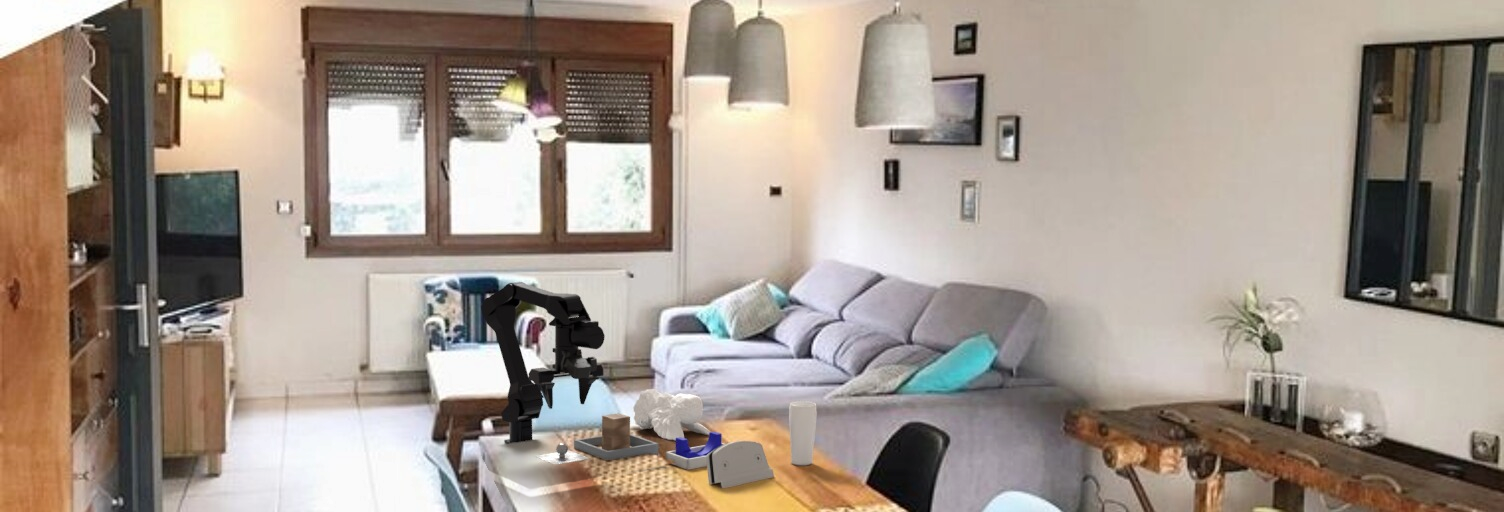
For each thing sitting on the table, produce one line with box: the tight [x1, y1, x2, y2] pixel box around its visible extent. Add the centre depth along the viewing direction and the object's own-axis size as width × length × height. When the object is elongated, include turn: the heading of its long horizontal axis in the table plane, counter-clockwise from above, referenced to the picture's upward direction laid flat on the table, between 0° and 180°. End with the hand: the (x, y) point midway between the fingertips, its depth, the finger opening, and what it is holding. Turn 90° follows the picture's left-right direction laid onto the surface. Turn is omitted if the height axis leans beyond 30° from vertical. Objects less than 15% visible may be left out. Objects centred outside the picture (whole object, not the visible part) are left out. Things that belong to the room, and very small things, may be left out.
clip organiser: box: [665, 442, 725, 471], centre depth 319 cm, size 9×17×2 cm, turn 129°
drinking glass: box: [788, 400, 818, 467], centre depth 318 cm, size 7×7×15 cm
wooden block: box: [601, 412, 631, 451], centre depth 323 cm, size 5×5×9 cm
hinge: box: [706, 440, 775, 489], centre depth 302 cm, size 17×5×10 cm, turn 132°
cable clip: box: [675, 431, 722, 459], centre depth 320 cm, size 12×4×6 cm, turn 129°
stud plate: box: [533, 442, 591, 465], centre depth 314 cm, size 10×10×5 cm
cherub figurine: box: [633, 388, 711, 442], centre depth 348 cm, size 13×12×20 cm
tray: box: [573, 433, 659, 461], centre depth 323 cm, size 15×15×4 cm
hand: (566, 406), depth 323 cm, fingers open, 9 cm apart
